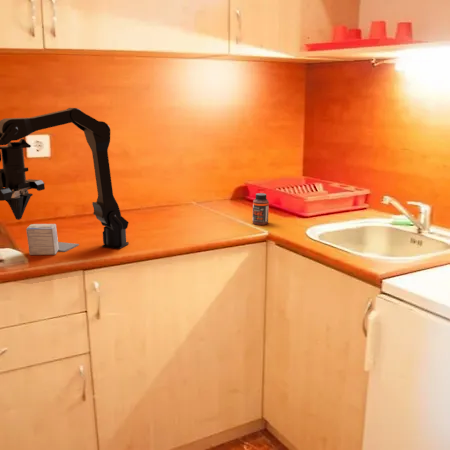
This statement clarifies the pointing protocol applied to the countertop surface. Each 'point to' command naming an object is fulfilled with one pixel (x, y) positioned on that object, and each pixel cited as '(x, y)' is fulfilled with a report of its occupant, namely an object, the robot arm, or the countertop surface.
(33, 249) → the medicine box
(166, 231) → the countertop surface
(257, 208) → the supplement bottle
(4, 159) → the robot arm
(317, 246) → the countertop surface
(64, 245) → the mat
